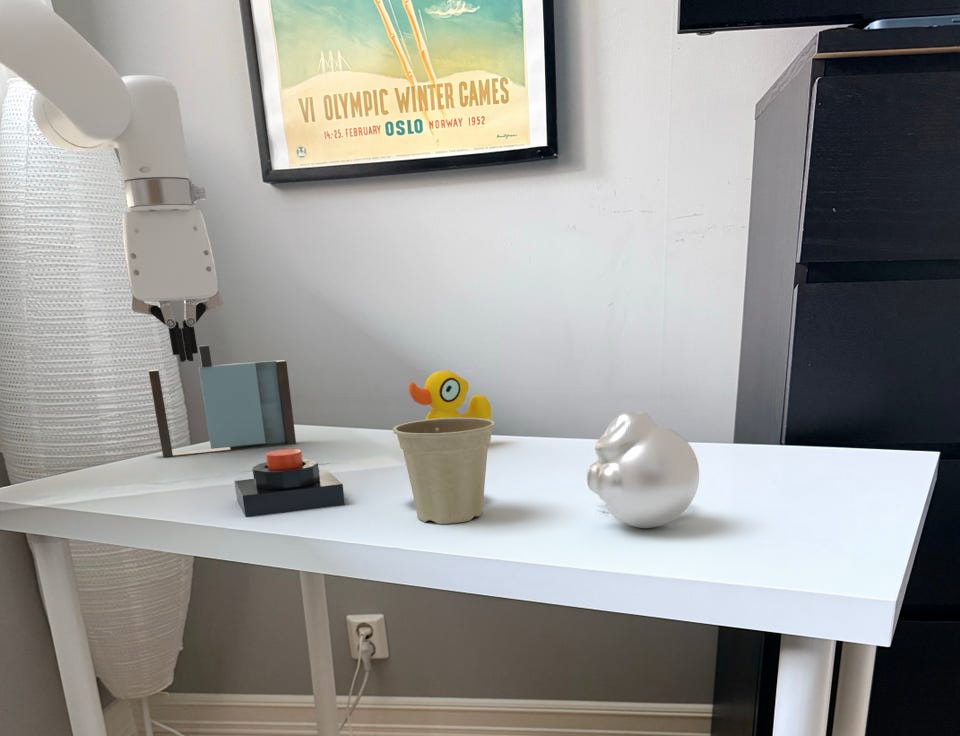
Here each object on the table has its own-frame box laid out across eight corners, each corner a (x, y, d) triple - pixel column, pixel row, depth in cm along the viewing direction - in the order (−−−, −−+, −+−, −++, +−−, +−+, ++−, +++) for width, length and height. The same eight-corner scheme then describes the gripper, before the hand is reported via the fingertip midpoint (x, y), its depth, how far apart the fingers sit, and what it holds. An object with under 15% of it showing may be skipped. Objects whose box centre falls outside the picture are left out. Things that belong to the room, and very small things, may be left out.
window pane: (211, 449, 120) (195, 346, 115) (210, 447, 121) (195, 346, 116) (266, 443, 122) (252, 342, 117) (264, 442, 123) (251, 342, 118)
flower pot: (382, 516, 90) (374, 425, 86) (464, 500, 94) (460, 413, 91) (432, 535, 82) (425, 437, 79) (518, 517, 87) (515, 423, 84)
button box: (245, 517, 92) (239, 477, 90) (237, 501, 99) (231, 463, 97) (345, 505, 95) (341, 466, 93) (329, 490, 102) (326, 453, 100)
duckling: (423, 456, 118) (417, 375, 114) (405, 451, 122) (399, 372, 118) (500, 445, 123) (497, 367, 119) (480, 440, 127) (477, 365, 123)
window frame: (165, 468, 119) (148, 371, 114) (164, 465, 121) (148, 370, 116) (297, 454, 124) (286, 360, 119) (295, 451, 126) (284, 359, 121)
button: (270, 474, 93) (268, 456, 93) (265, 468, 96) (263, 451, 96) (306, 470, 94) (304, 452, 94) (300, 464, 97) (298, 447, 97)
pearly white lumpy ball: (606, 510, 87) (606, 402, 84) (706, 517, 84) (711, 403, 80) (574, 535, 80) (572, 418, 76) (683, 543, 76) (687, 420, 72)
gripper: (222, 199, 115) (243, 354, 121) (93, 203, 110) (123, 363, 117) (228, 194, 108) (250, 358, 115) (91, 198, 104) (123, 368, 110)
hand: (186, 360), depth 116 cm, fingers closed
